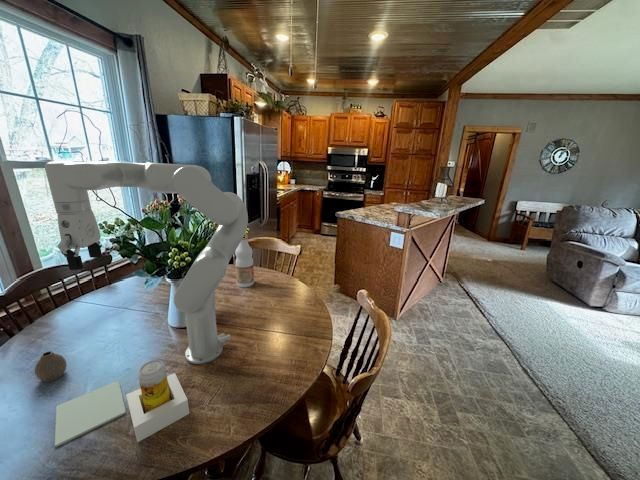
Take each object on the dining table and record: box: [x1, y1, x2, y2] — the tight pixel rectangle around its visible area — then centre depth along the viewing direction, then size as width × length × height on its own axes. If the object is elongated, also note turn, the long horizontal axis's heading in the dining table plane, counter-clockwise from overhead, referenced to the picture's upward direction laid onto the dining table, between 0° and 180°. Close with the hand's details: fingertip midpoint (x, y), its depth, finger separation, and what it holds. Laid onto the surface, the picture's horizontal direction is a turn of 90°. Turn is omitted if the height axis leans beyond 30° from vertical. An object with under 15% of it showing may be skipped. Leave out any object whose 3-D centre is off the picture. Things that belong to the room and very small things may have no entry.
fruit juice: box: [234, 235, 255, 288], centre depth 146 cm, size 9×9×28 cm
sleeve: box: [125, 372, 190, 443], centre depth 73 cm, size 12×12×5 cm
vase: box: [34, 350, 68, 383], centre depth 83 cm, size 7×7×9 cm
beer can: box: [138, 359, 172, 414], centre depth 72 cm, size 6×6×15 cm
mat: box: [54, 380, 126, 448], centre depth 74 cm, size 14×14×1 cm
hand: (87, 262), depth 81 cm, fingers open, 9 cm apart
